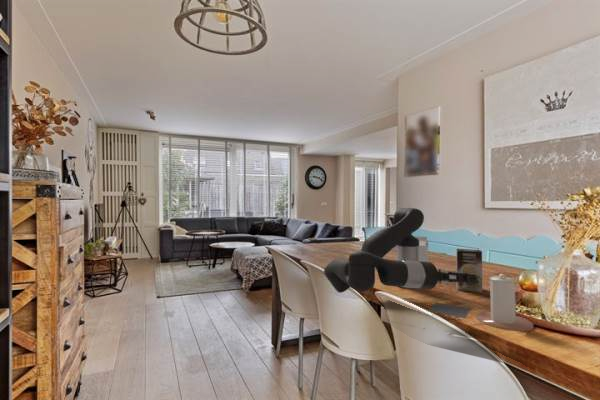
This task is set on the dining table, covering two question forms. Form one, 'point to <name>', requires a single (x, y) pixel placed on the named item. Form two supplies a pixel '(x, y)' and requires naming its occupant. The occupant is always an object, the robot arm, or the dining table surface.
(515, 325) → the tea light plate
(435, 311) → the cover mat
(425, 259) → the milk carton
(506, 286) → the cover
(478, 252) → the coffee box
